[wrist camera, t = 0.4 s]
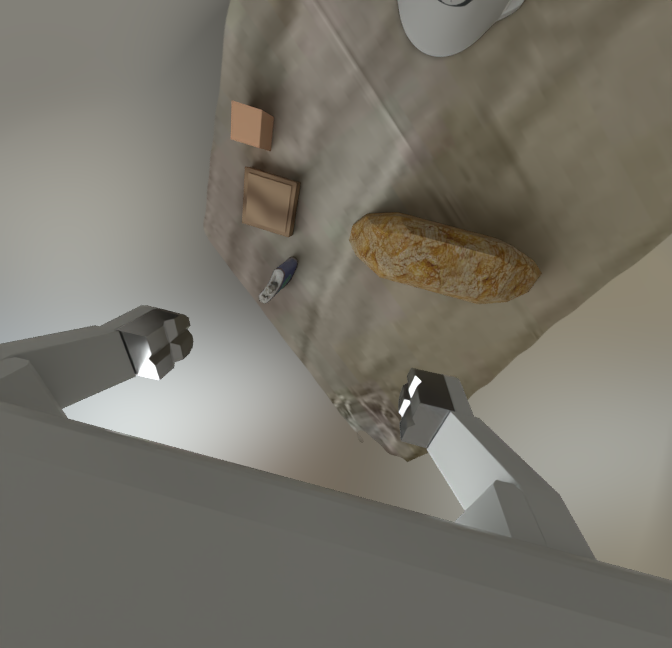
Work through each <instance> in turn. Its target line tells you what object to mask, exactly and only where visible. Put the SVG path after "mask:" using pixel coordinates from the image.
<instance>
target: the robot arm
mask: <svg viewBox="0 0 672 648" xmlns="http://www.w3.org/2000/svg"><path fill="white" fill-rule="evenodd" d="M523 2H524V0H398V7H399V13H400V18H401V22H402V25H403V28H404V30H405V32H406V34H407V36H408V38H409V39H410V41H411V42H412V43H413V45H414V46H415V47H416V48H418V49H419V50H420V51H422V52H423V53H425V54H428V55H431V56H436V57H445V56H450V55H454V54H456V53H459V52H461V51H463V50H465V49H466V48H468V47H469V46H471V45H472V44H473V43H474V42H476V41H477V40H478V39H479V38H480V37H481V36H482V35H483V34H484V33H485V32H486V31H487V30H488V29H489V28H490V27H491V26H492V25H493V24H494V23H495V22H497V21H498V20H501V19H503V18H505V17H507V16H509V15H510V14H512V13H514V12H515V11H516V10H518V9H519V8H520V6H521V5H522V3H523ZM189 327H190V321H189V318H188V317H187V316H186V315H184V314H180V313H176V312H172V311H168V310H164V309H160V308H156V307H151V306H148V305H145V306H144V305H142V306H139V307H137V308H135V309H133V310H131V311H129V312H127V313H125V314H123V315H121V316H119V317H117V318H115V319H113V320H111V321H109V322H107V323H105V324H103V325H101V326H90V327H84V328H80V329H74V330H69V331H64V332H59V333H54V334H48V335H44V336H38V337H33V338H28V339H23V340H18V341H12V342H7V343H2V344H0V648H672V580H668V579H665V578H661V577H657V576H653V575H650V574H646V573H642V572H639V571H635V570H631V569H627V568H623V567H620V566H616V565H612V564H609V563H605V562H601V561H598V560H596V558H595V557H594V555H593V553H592V551H591V550H590V548H589V546H588V544H587V542H586V541H585V539H584V537H583V535H582V534H581V532H580V530H579V528H578V526H577V524H576V523H575V521H574V519H573V517H572V516H571V514H570V512H569V510H568V509H567V507H566V505H565V503H564V501H563V500H562V498H561V496H560V495H559V494H558V493H557V492H556V491H555V490H554V489H553V488H552V487H551V486H550V485H549V484H548V483H547V482H546V481H545V480H544V479H543V478H542V477H541V476H539V475H538V474H537V473H536V472H535V471H534V470H533V469H532V468H531V467H530V466H529V465H528V464H527V463H526V462H525V461H524V460H522V459H521V457H520V456H519V455H517V454H516V453H515V452H514V451H513V450H512V449H511V448H510V447H509V446H508V445H507V444H506V443H505V442H504V441H503V440H502V439H501V438H499V436H497V435H496V434H495V433H494V432H493V431H492V430H491V429H490V428H489V427H488V426H487V425H486V424H485V423H484V422H483V421H482V420H481V419H480V418H477V417H474V415H473V413H472V410H471V408H470V405H469V403H468V400H467V398H466V395H465V392H464V390H463V387H462V385H461V382H460V380H459V379H458V378H457V377H454V376H449V375H444V374H437V373H433V372H428V371H424V370H420V369H415V368H411V369H410V371H409V373H408V375H407V380H408V383H407V384H405V385H403V387H402V390H401V392H400V397H399V413H400V414H401V416H402V419H401V421H400V435H401V441H403V442H407V443H410V444H414V445H417V446H421V447H424V448H427V451H428V452H429V454H430V455H431V457H432V459H433V460H434V462H435V464H436V465H437V467H438V468H439V470H440V472H441V473H442V475H443V476H444V478H445V480H446V481H447V483H448V485H449V486H450V488H451V489H452V491H453V493H454V494H455V496H456V498H457V499H458V501H459V502H460V504H461V506H462V507H463V509H464V510H465V512H464V513H463V514H462V515H461V516H460V517H459V518H458V519H457V520H456V521H455V522H452V521H448V520H444V519H440V518H437V517H433V516H429V515H426V514H422V513H418V512H415V511H411V510H407V509H403V508H400V507H396V506H392V505H389V504H384V503H381V502H377V501H373V500H370V499H366V498H362V497H359V496H355V495H351V494H348V493H344V492H340V491H336V490H332V489H329V488H325V487H321V486H318V485H314V484H310V483H306V482H303V481H299V480H295V479H292V478H288V477H284V476H280V475H276V474H273V473H269V472H265V471H262V470H258V469H254V468H251V467H247V466H243V465H239V464H236V463H232V462H228V461H224V460H221V459H217V458H213V457H209V456H206V455H202V454H198V453H194V452H191V451H187V450H183V449H179V448H176V447H172V446H168V445H164V444H161V443H157V442H153V441H149V440H146V439H142V438H138V437H134V436H131V435H127V434H123V433H120V432H116V431H112V430H108V429H105V428H101V427H97V426H94V425H90V424H86V423H82V422H79V421H75V420H71V419H68V418H67V416H66V415H65V413H64V412H63V410H62V409H63V408H65V407H67V406H69V405H72V404H74V403H76V402H78V401H81V400H83V399H85V398H88V397H90V396H92V395H94V394H96V393H99V392H101V391H103V390H106V389H108V388H110V387H112V386H115V385H117V384H119V383H122V382H124V381H126V380H128V379H131V378H133V377H135V376H136V375H138V376H143V377H147V378H152V379H156V380H160V379H162V378H163V377H164V376H165V375H166V374H167V373H168V372H169V371H171V370H172V369H173V368H174V364H175V362H177V361H180V360H183V359H184V358H185V357H186V356H187V355H188V354H189V353H190V351H191V349H192V347H193V337H192V334H191V333H190V332H189V331H188V328H189Z"/></svg>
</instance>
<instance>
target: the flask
mask: <svg viewBox="0 0 672 648" xmlns="http://www.w3.org/2000/svg"><path fill="white" fill-rule="evenodd" d="M297 262H298V261H297V260H296V259H295V258H294V257H290V258H289V259H288V260H286V261H285V262H284V263H283V264H281V265H280V266H279V267H277V268H276V269H275V270H274V271H273V273H272V277H271V279H270V281H269V283H268V284H267V286H266V287H265V289H264V290H263V291H262V292H261V293H260V294H259V301H261V302H262V303H268V302H269V301H270V300H271V299H272V298H273V297H274V296H275V295H276V294H277V293H278V292H279V291H280V290H281V289H282V288H284V287H285V286H286V285H287V284H288V282H289V281H290V280H291V278H292V276H293V274H294V272H295V270H296V268H297V265H298V263H297Z"/></svg>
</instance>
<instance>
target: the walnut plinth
mask: <svg viewBox="0 0 672 648" xmlns="http://www.w3.org/2000/svg"><path fill="white" fill-rule="evenodd" d="M300 184H301V183H300V182H296V181H293V180H290V179H287V178H284V177H280V176H277V175H274V174H271V173H268V172H264V171H261V170H258V169H255V168H251V167H245V177H244V197H243V217H242V223H244V224H248V225H251V226H254V227H257V228H260V229H263V230H267V231H270V232H273V233H276V234H279V235H283V236H286V237H290V236H292V235H293V228H294V222H295V216H296V209H297V203H298V197H299V191H300Z"/></svg>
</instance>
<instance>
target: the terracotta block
mask: <svg viewBox="0 0 672 648" xmlns="http://www.w3.org/2000/svg"><path fill="white" fill-rule="evenodd" d="M273 122H274V117H273V116H271V115H269V114H268V113H266V112H265V111H263V110H261V109H257V108H254V107H251V106H248V105H244V104H241V103H238V102H235V101H232V113H231V139H232V140H235V141H238V142H242V143H245V144H248V145H251V146H255V147H258V148H261V149H265V150H268V151H271V143H272V133H273Z"/></svg>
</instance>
